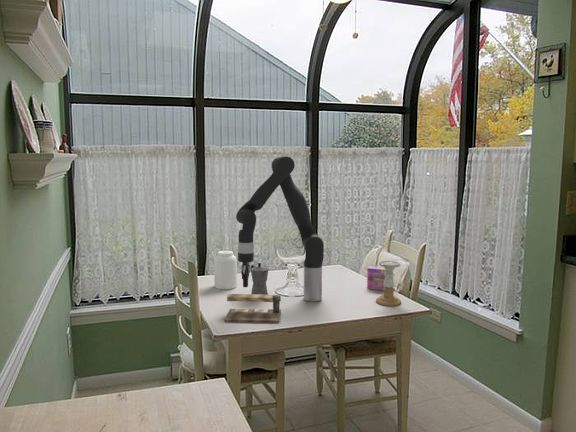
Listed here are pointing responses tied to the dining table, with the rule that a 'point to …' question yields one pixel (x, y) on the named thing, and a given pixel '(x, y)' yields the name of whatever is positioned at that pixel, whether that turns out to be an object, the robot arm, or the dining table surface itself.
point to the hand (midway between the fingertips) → (245, 286)
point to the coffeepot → (259, 279)
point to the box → (375, 277)
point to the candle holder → (388, 285)
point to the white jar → (225, 270)
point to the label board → (255, 315)
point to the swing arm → (253, 298)
